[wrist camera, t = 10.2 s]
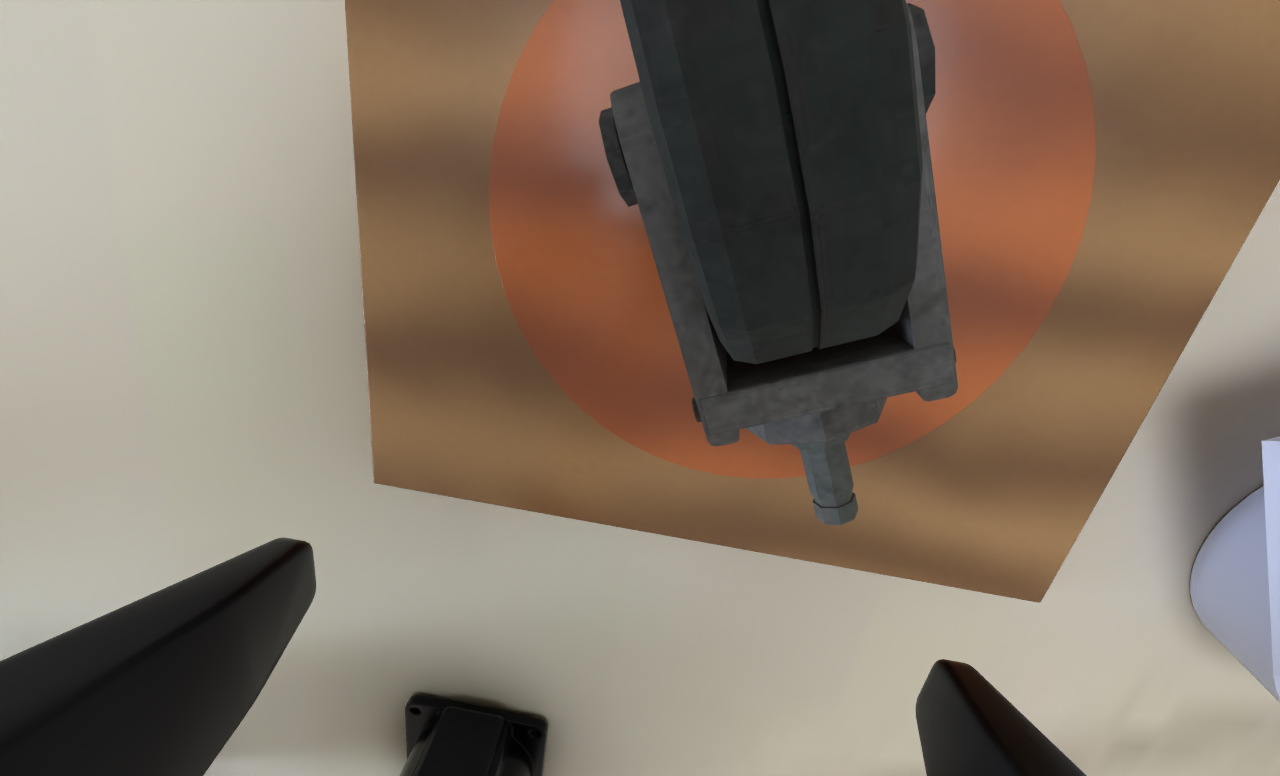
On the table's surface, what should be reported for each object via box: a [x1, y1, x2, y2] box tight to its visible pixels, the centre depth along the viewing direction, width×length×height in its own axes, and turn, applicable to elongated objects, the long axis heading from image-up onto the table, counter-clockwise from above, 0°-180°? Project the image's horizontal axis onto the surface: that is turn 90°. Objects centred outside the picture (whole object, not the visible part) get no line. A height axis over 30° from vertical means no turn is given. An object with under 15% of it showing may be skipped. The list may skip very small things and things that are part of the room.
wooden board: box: [345, 0, 1280, 602], centre depth 17 cm, size 22×24×1 cm
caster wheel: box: [599, 0, 958, 525], centre depth 12 cm, size 6×10×15 cm
